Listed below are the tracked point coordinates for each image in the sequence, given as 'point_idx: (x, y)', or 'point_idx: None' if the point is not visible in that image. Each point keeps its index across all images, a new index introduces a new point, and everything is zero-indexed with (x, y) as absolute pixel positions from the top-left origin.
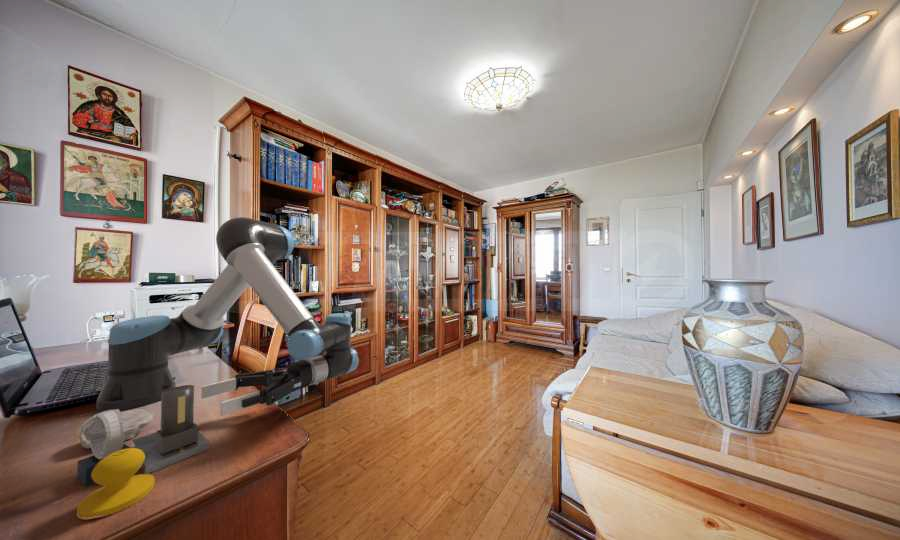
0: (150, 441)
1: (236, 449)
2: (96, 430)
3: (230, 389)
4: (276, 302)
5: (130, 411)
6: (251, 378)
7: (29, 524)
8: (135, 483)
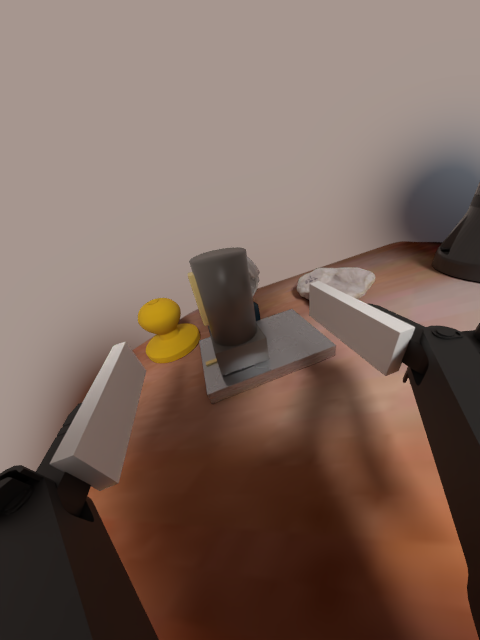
0: (274, 324)
1: (160, 460)
2: None
3: (366, 356)
4: None
5: (364, 273)
6: (454, 416)
7: (193, 314)
8: (162, 343)
